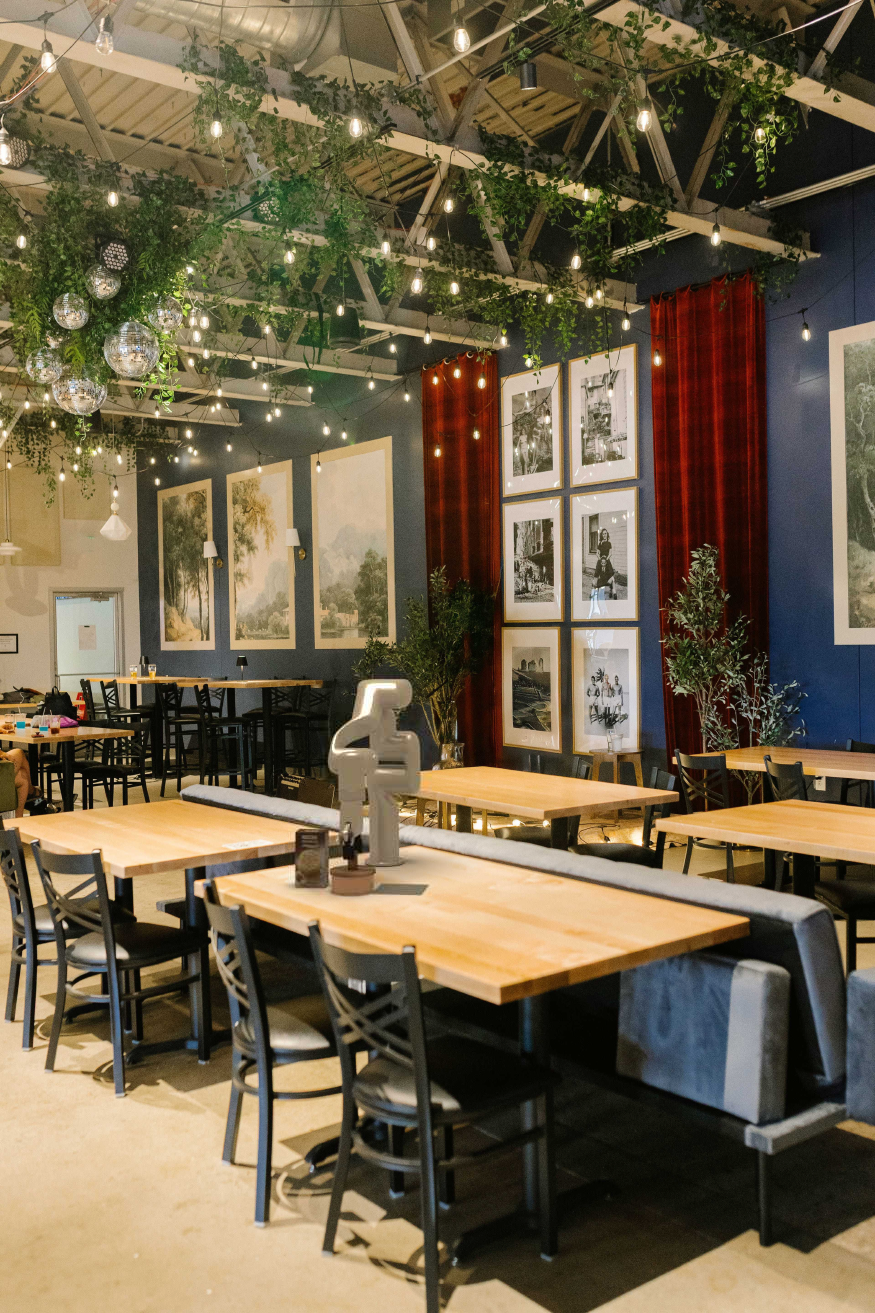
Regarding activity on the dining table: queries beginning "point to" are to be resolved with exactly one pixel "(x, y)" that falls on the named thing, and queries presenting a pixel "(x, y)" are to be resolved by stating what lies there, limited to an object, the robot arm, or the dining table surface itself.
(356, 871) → the lid
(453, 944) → the dining table surface
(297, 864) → the coffee box
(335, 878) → the bowl
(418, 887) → the mat
